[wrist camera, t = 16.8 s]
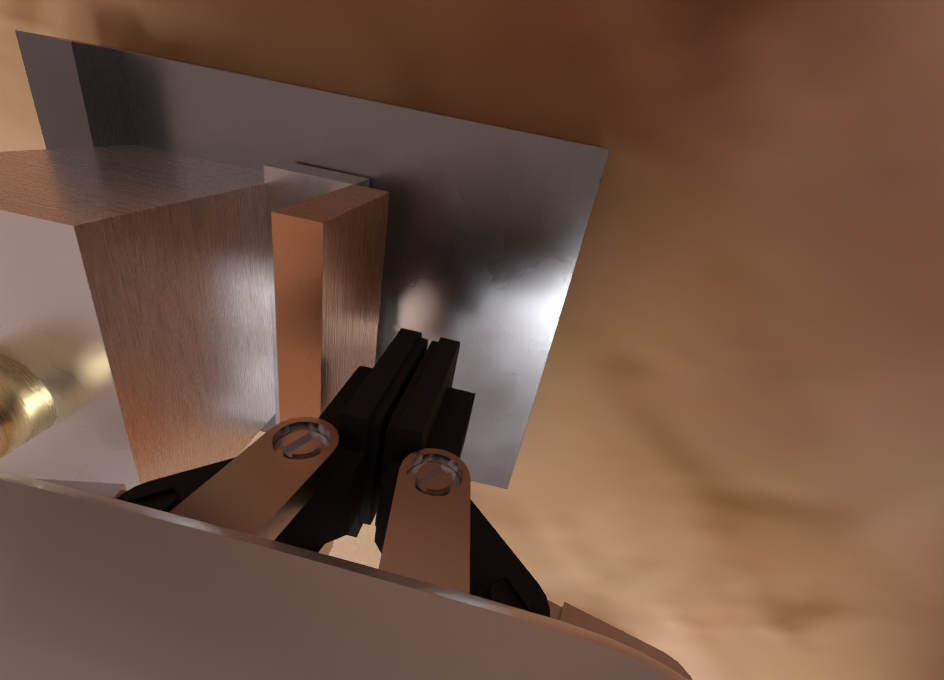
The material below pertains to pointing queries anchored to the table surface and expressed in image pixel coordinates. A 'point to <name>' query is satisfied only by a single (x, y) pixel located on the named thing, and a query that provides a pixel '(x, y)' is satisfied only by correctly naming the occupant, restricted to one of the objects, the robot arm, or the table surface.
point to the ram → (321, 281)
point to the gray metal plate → (389, 169)
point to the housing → (130, 313)
